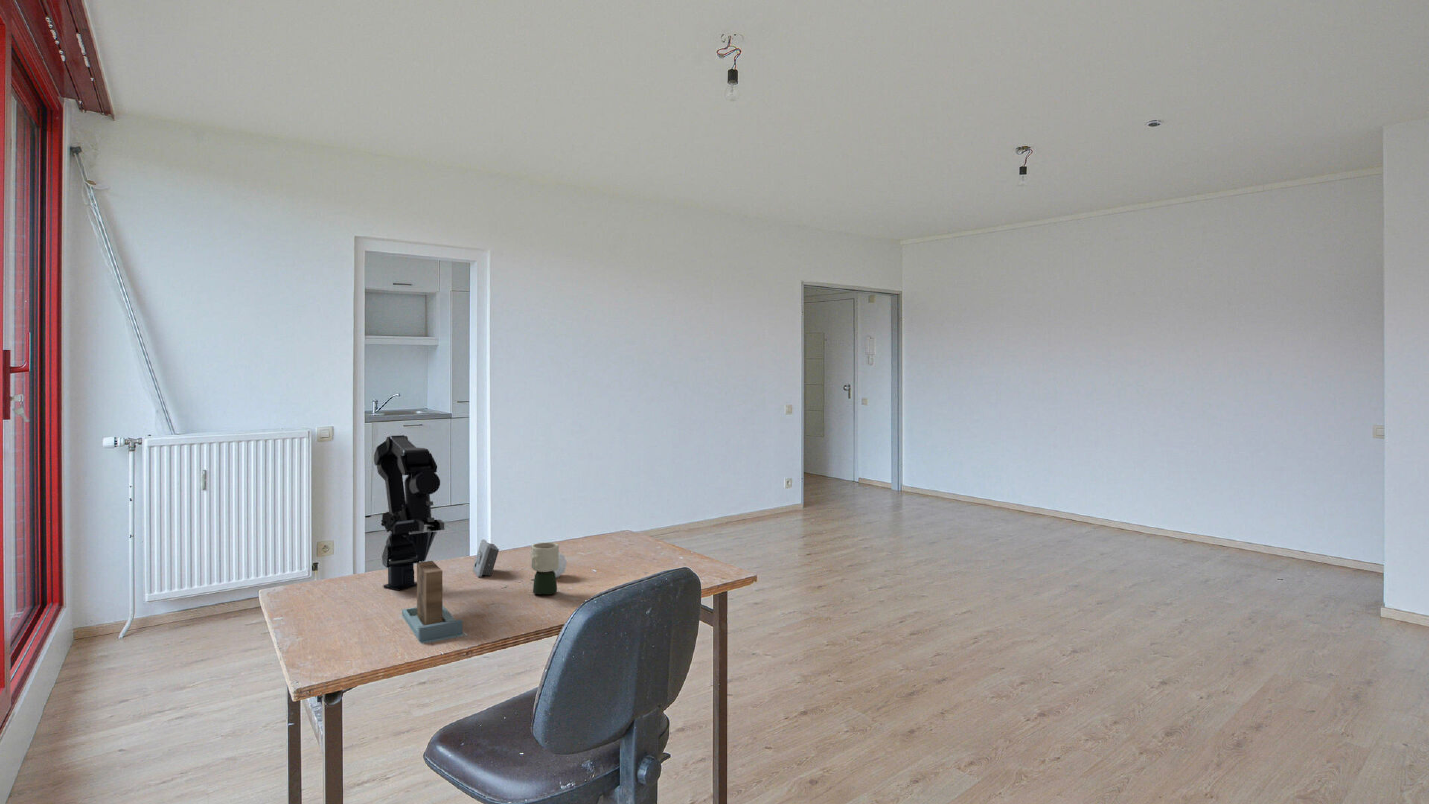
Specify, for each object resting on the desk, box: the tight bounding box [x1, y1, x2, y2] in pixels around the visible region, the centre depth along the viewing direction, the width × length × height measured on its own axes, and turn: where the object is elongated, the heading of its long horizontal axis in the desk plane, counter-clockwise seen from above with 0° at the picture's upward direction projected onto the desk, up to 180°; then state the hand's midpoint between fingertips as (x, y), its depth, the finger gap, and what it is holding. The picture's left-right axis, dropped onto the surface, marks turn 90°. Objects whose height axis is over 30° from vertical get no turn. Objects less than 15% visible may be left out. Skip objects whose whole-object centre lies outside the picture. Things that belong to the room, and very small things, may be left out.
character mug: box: [530, 541, 560, 596], centre depth 193 cm, size 11×7×13 cm, turn 156°
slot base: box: [401, 604, 464, 645], centre depth 167 cm, size 21×9×4 cm, turn 33°
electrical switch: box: [472, 538, 500, 578], centre depth 212 cm, size 9×5×9 cm, turn 28°
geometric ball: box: [554, 552, 568, 579], centre depth 209 cm, size 8×8×8 cm
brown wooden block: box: [416, 560, 443, 625], centre depth 169 cm, size 10×4×13 cm, turn 33°
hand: (422, 561), depth 181 cm, fingers closed
